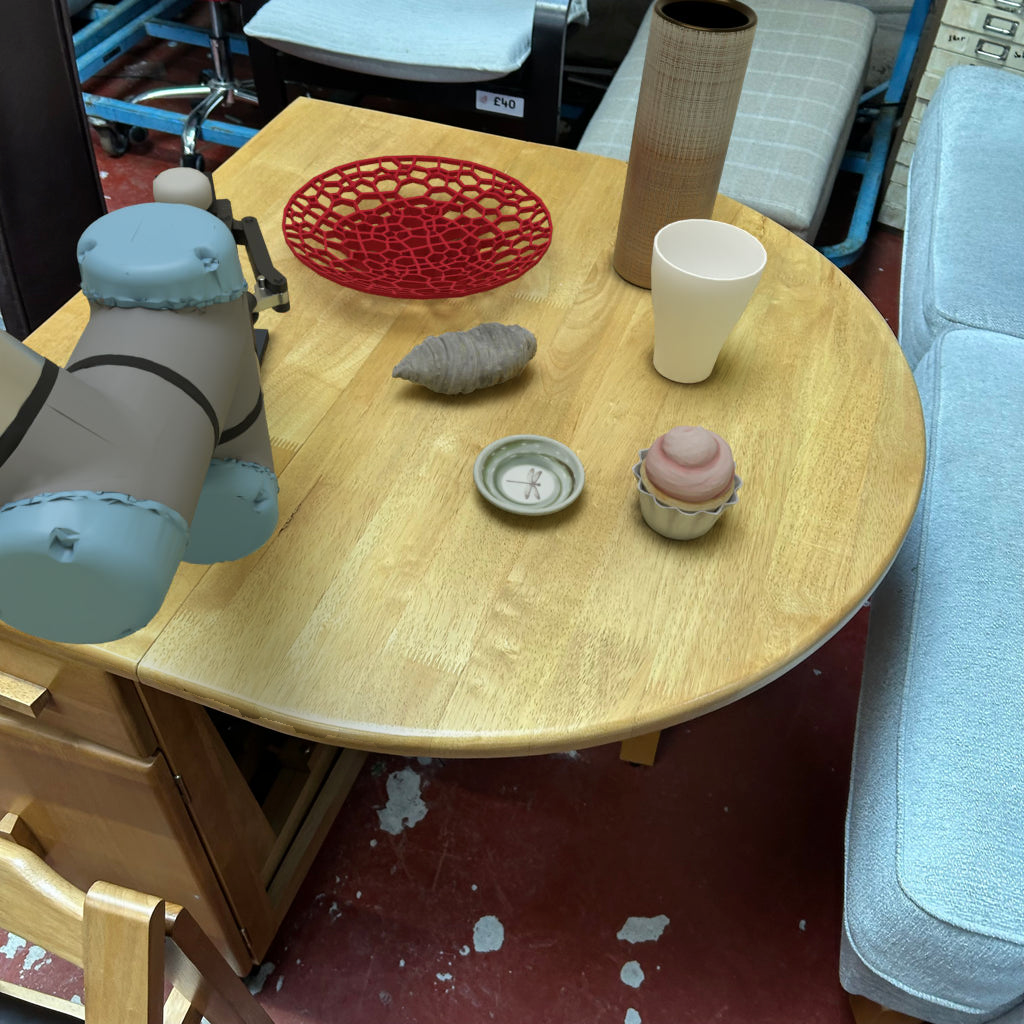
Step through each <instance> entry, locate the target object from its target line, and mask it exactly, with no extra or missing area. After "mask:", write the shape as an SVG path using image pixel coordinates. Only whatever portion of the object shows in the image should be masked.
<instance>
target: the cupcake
mask: <svg viewBox="0 0 1024 1024" xmlns="http://www.w3.org/2000/svg"><path fill="white" fill-rule="evenodd" d="M732 451H733V450H732V448H731V445H730V444H729V443H728V442H727V441H726V439H724V438H723V437H722V436H721V435H720V434H718V433H716V432H714V431H713V430H709V429H706V428H705V427H703V426H702V425H700V424H698V425H697V426H693V425H678V426H674V427H673V428H671V429H669V430H668V431H667V432H665V433H663V434H662V435H659V436H658V437H657V438H655V440H654V441H653V442H652V444H651V445H650V447H649V448H648V447H647V448H641V449H638V456H639V457H638V458H639V461H638V462H636V463H635V464H634V465H632V467H631V471H632V473H633V475H634V478H635V480H636V483H637V490H638V492H639V501H640V511H641V515H642V517H643V519H644V521H645V522H646V524H647V525H648V526H649V528H650V529H651V530H653V531H654V532H656V533H657V534H659V535H661V536H663V537H665V538H668V539H671V540H677V541H678V540H679V541H689V540H693V539H694V540H695V539H697V538H700V537H702V536H704V535H706V534H707V533H708V532H709V531H710V530H711V529H712V528H713V526H714V525H715V523H716V522H717V521H718V520H719V518H720V517H721V516H722V515H723V514H724V512H726V511H727V510H729V509H730V508H732V507H733V506H736V505H737V504H738V503H740V502H739V501H740V499H739V495H738V493H737V492H738V491H739V490H740V489H741V488H742V487H743V485H744V481H743V479H742V477H741V476H740V475H738V474H737V473H736V468H737V462H736V461H735V460H734V457H733V452H732Z"/></svg>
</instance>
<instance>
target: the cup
mask: <svg viewBox="0 0 1024 1024" xmlns="http://www.w3.org/2000/svg"><path fill="white" fill-rule="evenodd" d="M767 263H768V253H767V250H766V249H765V247H764V244H762V242H760V241H759V240H758V238H757V237H756V236H754V235H753V234H751V233H749V232H748V231H746V230H744V229H742V228H740V227H738V226H735V225H733V224H729V223H726V222H723V221H720V220H719V221H718V220H713V219H711V220H706V219H690V220H682V221H677V222H674V223H671V224H668V225H667V226H665V227H664V228H662V229H661V230H660V231H659V232H658V233H657V235H656V236H655V238H654V246H653V255H652V265H651V289H650V290H651V305H652V312H653V313H652V314H653V325H654V326H653V327H654V328H653V329H654V346H653V347H654V348H653V360H652V363H653V367H654V369H656V371H657V372H658V373H659V374H660V375H661V376H663V377H664V378H666V379H668V380H670V381H673V382H676V383H682V384H695V383H700V382H703V381H704V380H706V379H708V378H709V377H710V376H711V374H712V372H713V369H714V367H715V364H716V361H717V359H718V358H719V354H720V352H721V350H722V348H723V347H724V345H725V343H726V342H727V340H728V338H729V336H730V335H731V333H732V331H734V328H735V327H736V325H737V323H738V322H740V319H741V318H742V317H743V314H744V312H745V311H746V309H747V307H748V305H749V303H750V301H751V299H752V297H753V296H754V293H755V292H756V290H757V288H758V286H759V284H760V282H761V278H762V276H763V275H764V274H763V273H764V271H765V269H766V266H767Z"/></svg>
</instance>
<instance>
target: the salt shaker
mask: <svg viewBox="0 0 1024 1024" xmlns="http://www.w3.org/2000/svg"><path fill="white" fill-rule="evenodd" d="M158 175H159V176H158V177H157V178H156V179H155V178H154V180H153V181H152V192H153V193H152V195H153V200H154V201H155V202H159V203H171V204H185V205H190V206H194V207H197V208H200V209H202V210H205V211H206V210H207V209H208V208H209V206H210V205H211V204H212V191H211V185H210V182H209V179H208V177H206V176H205V175H204V174H202V172H201V171H200V170H199V169H195V168H192V167H183V166H182V167H179V166H178V167H173V168H168V169H166V170H164V171H162V172H160V173H159V174H158ZM155 202H154V203H155Z"/></svg>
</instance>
